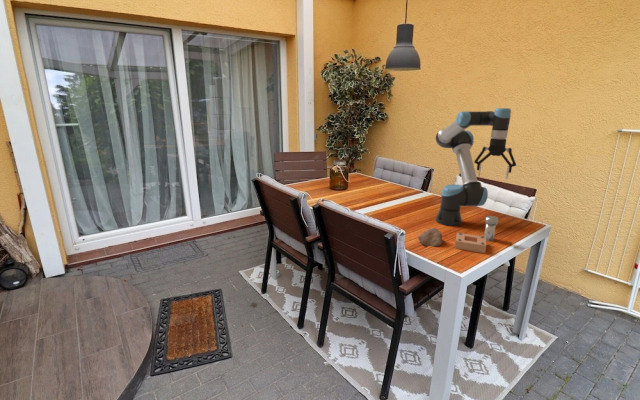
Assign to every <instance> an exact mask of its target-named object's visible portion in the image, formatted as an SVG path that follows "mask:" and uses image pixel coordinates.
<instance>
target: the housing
mask: <svg viewBox="0 0 640 400" xmlns="http://www.w3.org/2000/svg"><path fill="white" fill-rule="evenodd" d="M455 236H456V238H455V241H454V242H455V245H454V249H457V250H463V251H469V252H475V253H481V254H485V253H486V250H487V249H486V248H487V240H486V237H484V235H475V234H468V233H462V232H456V235H455Z"/></svg>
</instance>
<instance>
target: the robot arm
mask: <svg viewBox="0 0 640 400" xmlns="http://www.w3.org/2000/svg"><path fill="white" fill-rule="evenodd" d="M511 113H512V110H511V108H505V107H504V108H503V107H502V108H501V107H498V108H495V110H494V111H491V110H490V111H489V110H488V111H467V110H466V111H460V112H458V113H457V115H456V118H455V120H454V121H453V122H451V123H450V124H449V125H448V126H446V127H445V128H442V129H440V130H439V131H437V133H436V135H435V141H436V143H437V145H438V146H440V147H441V148H443V149H444V148H445V149H452V153H454V154H455V156H456V160H457V164H458V169H459V172H460V174H459V175H460V177H461V181H462V184H454V183H453V184H452V183H451V184H446V185H444V187H442V191H441V195H440V196H441V197H440V198H441V199H440V205H439V210H438V212H437V215H436V216H435V222H437V223H438V224H440V225H443V226H449V227H457V226H461V225H462V222H463V219H462V214H461V207H482V206H484V205H485V204H486V202H487V201H488V194H489V192H488V189H487V188H486V187H485V186H483V185H482V183H481V182H480V181H478V178H477V177H481V169H482V163H483V162H484V161H486V160H487V159H488V158H489V157H490V156H492V157H495V156H496V157H500V156H501V157H502V158H503V160H504V161H505V162H506V164H507V167H506V173H505V179H506V180H509V179H508V177H509V174H511V173H512V169H513V167H516V166H517V162H516V160H515V158H514V155H513V153H512V152H513V151H512V150H513V149H512V148H511V147H509V148H506V145H507V138H508V133H509V128H510V127H509V126H510V120H511V117H512V115H511ZM472 126H476V127H477V126H491V127H492V128H491V135H490V141H489V146H488V147H487V146H483V147H482V150H481V151H480V153H479V154H478V156H477V157H476V158H475V160H473V158H472V157H473V156H472V154H471V150H472V147H473V145H474V136H473V133H472V132H471V131H470V130H466V129H468V128H469V127H472ZM487 150H488V153H487V154H486V155H484V157H483V158H481V157H482V156H483V154H484V153H485V152H486V151H487ZM505 152H507V153H508V155H509V158H510V160H511V162H512V163H511V162H510V160H509V159H508V158H507V156H506V155H505V154H504V153H505ZM474 164H476V165H477V166H476V169H475V166H474ZM476 171H478V175H477V174H476Z"/></svg>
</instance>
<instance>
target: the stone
mask: <svg viewBox="0 0 640 400" xmlns="http://www.w3.org/2000/svg"><path fill="white" fill-rule="evenodd" d="M418 241H419V243H421V244H422V245H423V246H425V247H428V246H430V247H438V246H439V247H440V246H441V245H442V244H443V234H442V232H441V231H440V230H439V229H438V228H436V227H432V228H427V229H426V230H425V231H423V232H421V233H420V234H419V236H418Z"/></svg>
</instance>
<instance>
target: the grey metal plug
mask: <svg viewBox="0 0 640 400" xmlns="http://www.w3.org/2000/svg"><path fill="white" fill-rule="evenodd" d="M484 223H485V227H484V235H483V237H486V242H487V241H488V242H492V241H494V240H495V239H494V238H495V232H496V227H497V225H498V224H499V217H497V216H495V215H485V217H484Z"/></svg>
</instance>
